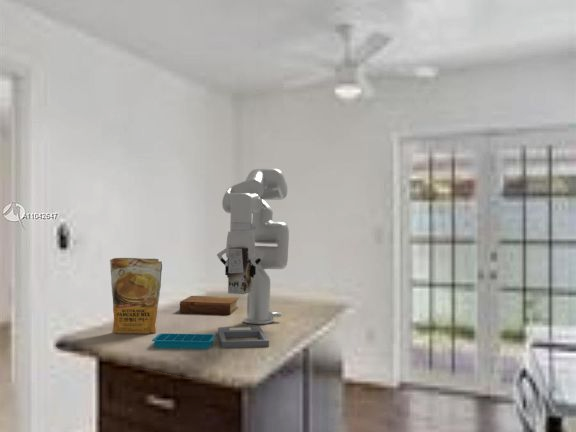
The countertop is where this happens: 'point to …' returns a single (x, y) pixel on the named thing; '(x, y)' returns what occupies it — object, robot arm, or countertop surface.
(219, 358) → the countertop surface
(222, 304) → the diary
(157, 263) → the pancake mix bag
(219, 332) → the grey plastic frame
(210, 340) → the ice cube tray
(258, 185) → the robot arm
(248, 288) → the coffee box
